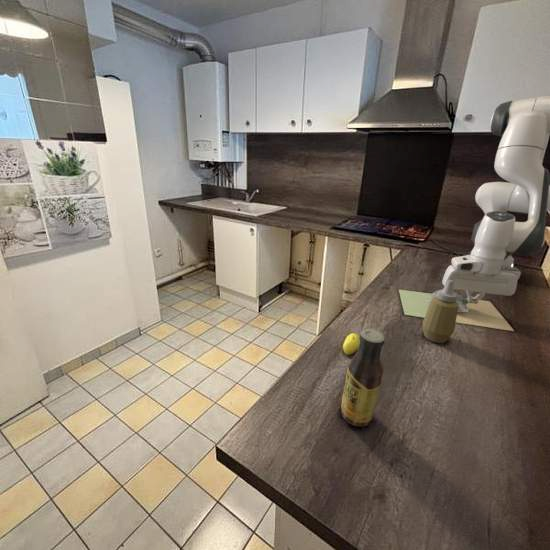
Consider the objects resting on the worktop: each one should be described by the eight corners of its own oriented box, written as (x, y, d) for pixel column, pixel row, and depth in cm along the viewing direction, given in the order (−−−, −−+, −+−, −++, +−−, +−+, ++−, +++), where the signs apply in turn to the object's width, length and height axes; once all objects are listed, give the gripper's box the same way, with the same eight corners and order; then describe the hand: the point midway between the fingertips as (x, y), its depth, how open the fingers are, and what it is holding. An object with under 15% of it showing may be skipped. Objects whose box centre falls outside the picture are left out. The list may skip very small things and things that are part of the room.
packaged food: (465, 317, 94) (469, 304, 92) (425, 307, 100) (428, 294, 98) (467, 307, 101) (471, 294, 99) (429, 298, 107) (433, 285, 105)
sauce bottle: (336, 404, 61) (347, 323, 53) (365, 402, 61) (380, 322, 54) (346, 431, 55) (360, 345, 47) (377, 429, 55) (397, 344, 48)
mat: (398, 289, 113) (398, 289, 113) (489, 301, 105) (489, 301, 105) (404, 314, 95) (404, 314, 95) (514, 331, 88) (514, 331, 88)
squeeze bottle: (447, 332, 86) (464, 277, 79) (453, 348, 79) (472, 289, 72) (418, 327, 89) (431, 273, 82) (421, 342, 82) (436, 284, 75)
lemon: (338, 353, 76) (339, 341, 75) (349, 339, 82) (350, 327, 81) (353, 360, 74) (355, 347, 73) (363, 344, 80) (365, 332, 79)
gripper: (517, 264, 92) (503, 302, 98) (446, 257, 97) (437, 294, 103) (527, 271, 87) (512, 312, 92) (451, 263, 92) (441, 302, 97)
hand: (471, 302), depth 98 cm, fingers closed
